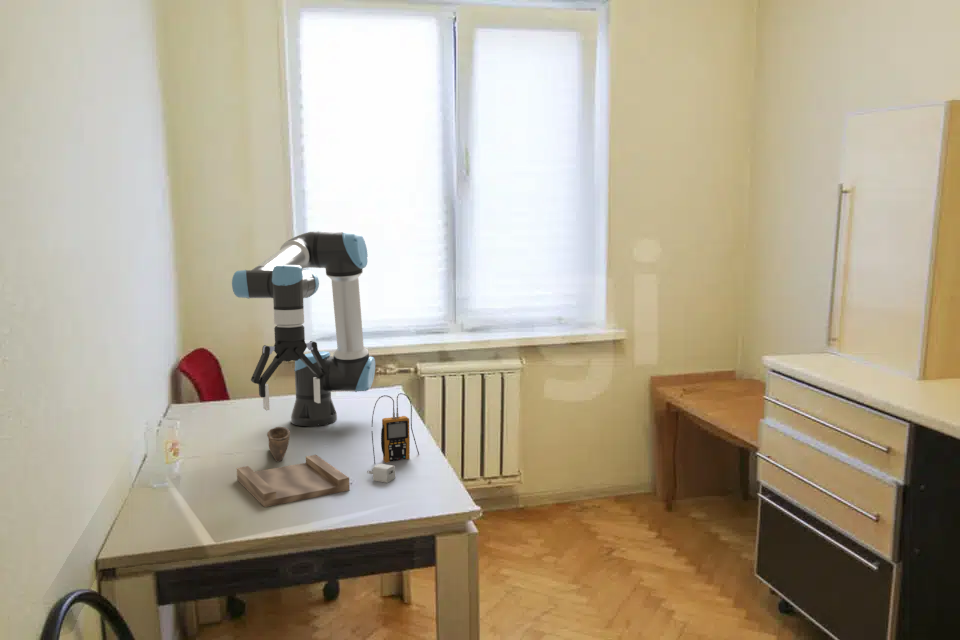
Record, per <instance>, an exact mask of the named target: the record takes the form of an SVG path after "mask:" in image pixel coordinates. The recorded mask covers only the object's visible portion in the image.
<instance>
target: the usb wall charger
mask: <svg viewBox="0 0 960 640" xmlns="http://www.w3.org/2000/svg"><path fill="white" fill-rule="evenodd" d="M366 473H367V474H369V475H372V479H373V481H374V482H375V481H376V482H381V483H384V484H385V483H387V484H388V483H389V482H392V481H393V480H394V479H396V466H395V465H391V464H386V463H378V464H375V465H374V466H373V467H372V468H371V470H367V472H366Z"/></svg>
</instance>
